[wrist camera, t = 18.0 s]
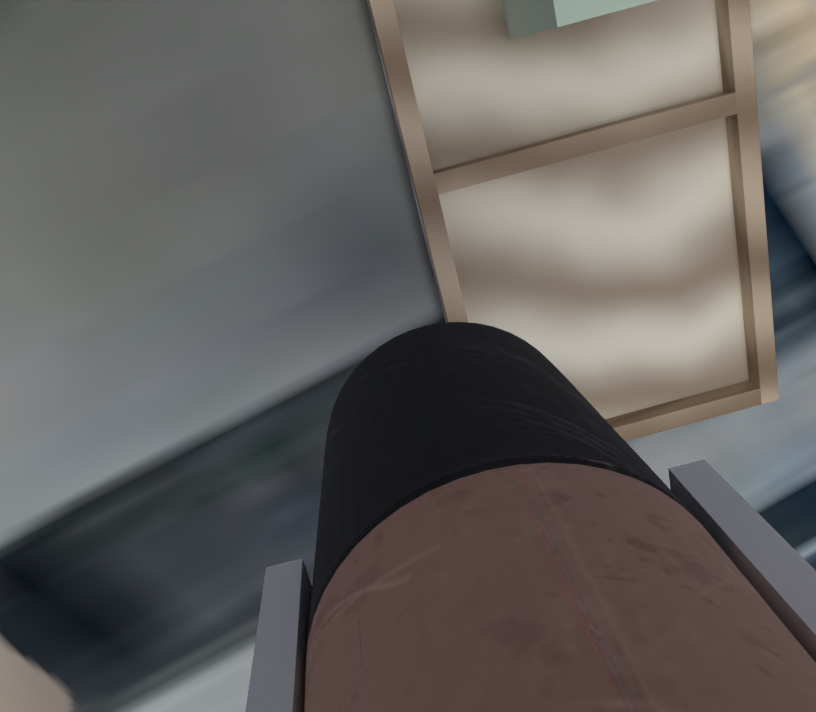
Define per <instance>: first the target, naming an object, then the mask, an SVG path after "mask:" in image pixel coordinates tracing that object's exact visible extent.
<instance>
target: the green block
mask: <svg viewBox="0 0 816 712" xmlns="http://www.w3.org/2000/svg"><path fill="white" fill-rule="evenodd" d="M653 1H657V0H502V4H503V9H504V15H505V20H506V25H507V31H508V36H509V40H512V39H515V38H519V37H523V36H527V35H530V34H534V33H538V32H542V31H546V30H549V29H553V28H557V27H561V26H564V25H568V24H572V23H575V22H579V21H583V20H587V19H590V18H594V17H598V16H601V15H605V14H609V13H612V12H616V11H620V10H624V9H627V8H631V7H635V6H638V5H642V4H646V3H649V2H653Z"/></svg>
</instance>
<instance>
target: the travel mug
mask: <svg viewBox="0 0 816 712" xmlns="http://www.w3.org/2000/svg"><path fill="white" fill-rule="evenodd" d="M304 712H816V662H815V661H814V660H813V659H812V658H811V656H810V655H809V654H808V653H807V652H806V650H805V649H804V648H803V647H802V645H801V644H800V643H799V642H798V641H797V639H796V638H795V637H794V636H793V635H792V633H791V632H790V631H789V630H788V628H787V627H786V626H785V625H784V624H783V622H782V621H781V620H780V619H779V618H778V616H777V615H776V614H775V613H774V612H773V610H772V609H771V608H770V607H769V605H768V604H767V603H766V602H765V601H764V599H763V598H762V597H761V596H760V595H759V593H758V592H757V591H756V590H755V588H754V587H753V586H752V585H751V584H750V582H749V581H748V580H747V579H746V578H745V576H744V575H743V574H742V573H741V572H740V570H739V569H738V568H737V567H736V565H735V564H734V563H733V562H732V561H731V559H730V558H729V557H728V556H727V555H726V553H725V552H724V551H723V550H722V548H721V547H720V546H719V545H718V544H717V542H716V541H715V540H714V539H713V538H712V536H711V535H710V534H709V533H708V531H707V530H706V529H705V528H704V527H703V525H702V524H701V523H700V522H699V521H698V520H697V519H696V518H695V517H694V516H693V515H692V513H691V512H690V511H689V510H688V509H687V507H686V506H685V505H684V504H683V503H682V502H681V501H680V500H679V499H678V498H677V497H676V496H675V495H674V493H673V492H672V491H671V490H670V489H669V488H668V487H667V486H666V485H665V484H664V483H663V482H662V480H661V479H660V478H659V477H658V476H657V475H656V474H655V473H654V472H653V471H652V470H651V469H650V468H649V466H648V465H647V464H646V463H645V462H644V461H643V460H642V459H641V458H640V457H639V456H638V455H637V453H636V452H635V451H634V450H633V449H632V448H631V447H630V446H629V445H628V444H627V443H626V442H625V441H624V439H623V438H622V437H621V436H620V435H619V434H618V433H617V432H616V431H615V430H614V429H613V428H612V426H611V425H610V424H609V423H608V422H607V421H606V420H605V419H604V418H603V417H602V416H601V415H600V413H599V412H598V411H597V410H596V409H595V408H594V407H593V406H592V405H591V404H590V403H589V402H588V401H587V399H586V398H585V397H584V396H583V395H582V394H581V393H580V392H579V391H578V390H577V389H576V388H575V386H574V385H573V384H572V383H571V382H570V381H569V380H568V379H567V378H566V377H565V376H564V375H563V374H562V373H561V372H560V371H559V370H558V369H557V368H556V367H555V366H554V365H553V364H552V363H551V362H550V361H549V360H548V359H547V358H546V357H545V356H544V355H543V354H542V353H541V352H540V351H538V350H537V349H536V348H535V347H533V346H532V345H530V344H529V343H528V342H526V341H525V340H523V339H521V338H520V337H518V336H516V335H514V334H512V333H510V332H507V331H504V330H502V329H499V328H496V327H493V326H488V325H483V324H479V323H469V322H445V323H438V324H432V325H427V326H423V327H420V328H417V329H413V330H410V331H408V332H406V333H403V334H401V335H399V336H397V337H395V338H393V339H391V340H390V341H388V342H386V343H385V344H383V345H381V346H380V347H379V348H378V349H376V350H375V351H374V352H372V353H371V354H370V355H369V356H367V357H366V359H365V360H364V361H363V362H362V363H361V364H360V365H359V366H358V367H357V368H356V369H355V370H354V371H353V373H352V374H351V375H350V377H349V378H348V379H347V381H346V382H345V384H344V386H343V388H342V389H341V391H340V393H339V395H338V397H337V399H336V402H335V405H334V407H333V410H332V413H331V418H330V422H329V426H328V431H327V438H326V446H325V456H324V466H323V477H322V488H321V499H320V510H319V520H318V531H317V542H316V553H315V564H314V574H313V585H312V596H311V607H310V618H309V629H308V641H307V654H306V667H305V694H304Z"/></svg>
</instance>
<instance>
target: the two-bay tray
mask: <svg viewBox="0 0 816 712" xmlns="http://www.w3.org/2000/svg"><path fill="white" fill-rule="evenodd" d="M366 2H367V6H368V10H369V14H370V18H371V22H372V26H373V30H374V34H375V39H376V43H377V47H378V51H379V55H380V59H381V63H382V67H383V71H384V75H385V79H386V83H387V87H388V91H389V95H390V99H391V103H392V108H393V112H394V116H395V120H396V124H397V128H398V132H399V136H400V140H401V144H402V148H403V152H404V156H405V160H406V164H407V168H408V172H409V177H410V181H411V185H412V189H413V193H414V197H415V201H416V205H417V209H418V213H419V217H420V221H421V225H422V229H423V233H424V237H425V241H426V246H427V250H428V254H429V258H430V262H431V266H432V270H433V274H434V278H435V282H436V286H437V290H438V294H439V298H440V302H441V306H442V310H443V314H444V319H445V322H469V323H479V324H483V325H488V326H493V327H496V328H499V329H502V330H504V331H507V332H510V333H512V334H514V335H516V336H518V337H520V338H521V339H523V340H525V341H526V342H528V343H529V344H530V345H532V346H533V347H535V348H536V349H537V350H538V351H540V352H541V353H542V354H543V355H544V356H545V357H546V358H547V359H548V360H549V361H550V362H551V363H552V364H553V365H554V366H555V367H556V368H557V369H558V370H559V371H560V372H561V373H562V374H563V375H564V376H565V377H566V378H567V379H568V380H569V381H570V382H571V383H572V384H573V385H574V386H575V388H576V389H577V390H578V391H579V392H580V393H581V394H582V395H583V396H584V397H585V398H586V399H587V401H588V402H589V403H590V404H591V405H592V406H593V407H594V408H595V409H596V410H597V411H598V412H599V413H600V415H601V416H602V417H603V418H604V419H605V420H606V421H607V422H608V423H609V424H610V425H611V426H612V428H613V429H614V430H615V431H616V432H617V433H618V434H619V435H620V436H621V437H622V438H623V439H624V441H628V440H631V439H635V438H639V437H643V436H646V435H650V434H654V433H657V432H661V431H665V430H668V429H672V428H676V427H679V426H683V425H687V424H690V423H694V422H698V421H701V420H705V419H709V418H712V417H716V416H720V415H724V414H727V413H731V412H735V411H738V410H742V409H746V408H749V407H753V406H757V405H760V404H764V403H768V402H771V401H775V400H779V395H778V381H777V368H776V355H775V341H774V328H773V314H772V301H771V287H770V274H769V260H768V247H767V233H766V220H765V206H764V193H763V179H762V166H761V152H760V139H759V125H758V112H757V98H756V85H755V71H754V58H753V44H752V31H751V17H750V4H749V0H657V1H653V2H649V3H646V4H642V5H638V6H635V7H631V8H627V9H624V10H620V11H616V12H612V13H609V14H605V15H601V16H598V17H594V18H590V19H587V20H583V21H579V22H575V23H572V24H568V25H564V26H561V27H557V28H553V29H549V30H546V31H542V32H538V33H534V34H530V35H527V36H523V37H519V38H515V39H512V40H509V36H508V31H507V25H506V20H505V15H504V9H503V4H502V0H366Z"/></svg>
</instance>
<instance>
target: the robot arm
mask: <svg viewBox="0 0 816 712" xmlns="http://www.w3.org/2000/svg"><path fill="white" fill-rule="evenodd" d="M669 477H670V487H671V491H672V492H673V493H674V495H675V496H676V497H677V498H678V499H679V500H680V501H681V502H682V503H683V504H684V505H685V506H686V507H687V509H688V510H689V511H690V512H691V513H692V515H693V516H694V517H695V518H696V519H697V520H698V521H699V522H700V523H701V524H702V525H703V527H704V528H705V529H706V530H707V531H708V533H709V534H710V535H711V536H712V538H713V539H714V540H715V541H716V542H717V544H718V545H719V546H720V547H721V548H722V550H723V551H724V552H725V553H726V555H727V556H728V557H729V558H730V559H731V561H732V562H733V563H734V564H735V565H736V567H737V568H738V569H739V570H740V572H741V573H742V574H743V575H744V576H745V578H746V579H747V580H748V581H749V582H750V584H751V585H752V586H753V587H754V588H755V590H756V591H757V592H758V593H759V595H760V596H761V597H762V598H763V599H764V601H765V602H766V603H767V604H768V605H769V607H770V608H771V609H772V610H773V612H774V613H775V614H776V615H777V616H778V618H779V619H780V620H781V621H782V622H783V624H784V625H785V626H786V627H787V628H788V630H789V631H790V632H791V633H792V635H793V636H794V637H795V638H796V639H797V641H798V642H799V643H800V644H801V645H802V647H803V648H804V649H805V650H806V652H807V653H808V654H809V655H810V656H811V658H812V659H813V660H814V661H815V662H816V571H815V570H814V569H813V568H812V567H811V566H810V565H809V564H808V563H807V562H806V561H805V560H804V559H803V558H802V557H801V556H800V555H799V554H798V553H797V552H796V551H795V550H794V549H793V548H792V547H791V546H790V545H789V544H788V543H787V542H786V541H785V540H784V539H783V538H782V537H781V536H780V535H779V534H778V533H777V532H776V531H775V530H774V529H773V528H772V527H771V526H770V525H769V524H768V523H767V522H766V521H765V520H764V519H763V518H762V517H761V516H760V515H759V514H758V513H757V512H756V511H755V510H754V509H753V508H752V507H751V506H750V505H749V504H748V503H747V502H746V501H745V500H744V499H743V498H742V497H741V496H740V495H739V494H738V493H737V492H736V491H735V490H734V489H733V488H732V487H731V486H730V485H729V484H728V483H727V482H726V481H725V480H724V479H723V478H722V477H721V476H720V475H719V474H718V473H717V472H716V471H715V470H714V469H713V468H712V467H711V466H710V465H709V464H708V463H707V462H706V461H705V460H701V461H697V462H693V463H689V464H685V465H681V466H677V467H673V468H669ZM311 596H312V586H311V583H310V580H309V576H308V573H307V570H306V567H305V564H304V561H303V558H302V559H298V560H294V561H290V562H286V563H282V564H278V565H274V566H269V567H266V572H265V579H264V586H263V593H262V600H261V607H260V614H259V621H258V628H257V635H256V642H255V649H254V656H253V664H252V671H251V678H250V685H249V692H248V699H247V706H246V712H304V694H305V667H306V654H307V641H308V629H309V618H310V607H311Z"/></svg>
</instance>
